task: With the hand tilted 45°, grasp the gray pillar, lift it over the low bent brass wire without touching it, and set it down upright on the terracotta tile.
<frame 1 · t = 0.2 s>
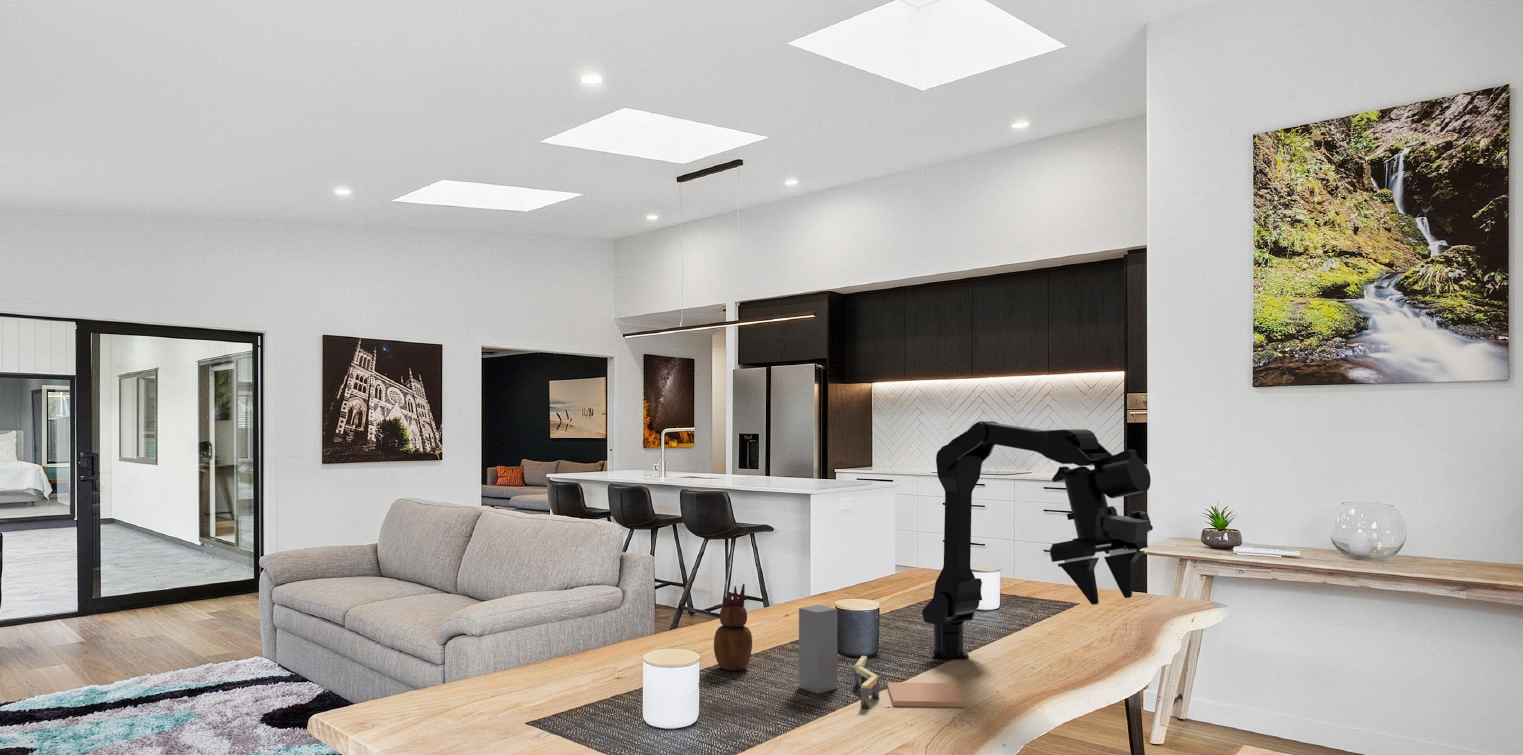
hand: (1112, 601, 143), 15 cm above the table, tool pointing down, fingers open, 9 cm apart
wooden figurine: (733, 669, 160), on the table
gray pillar: (818, 688, 148), on the table
terracotta tile: (925, 696, 143), on the table
bent wire: (864, 691, 146), on the table
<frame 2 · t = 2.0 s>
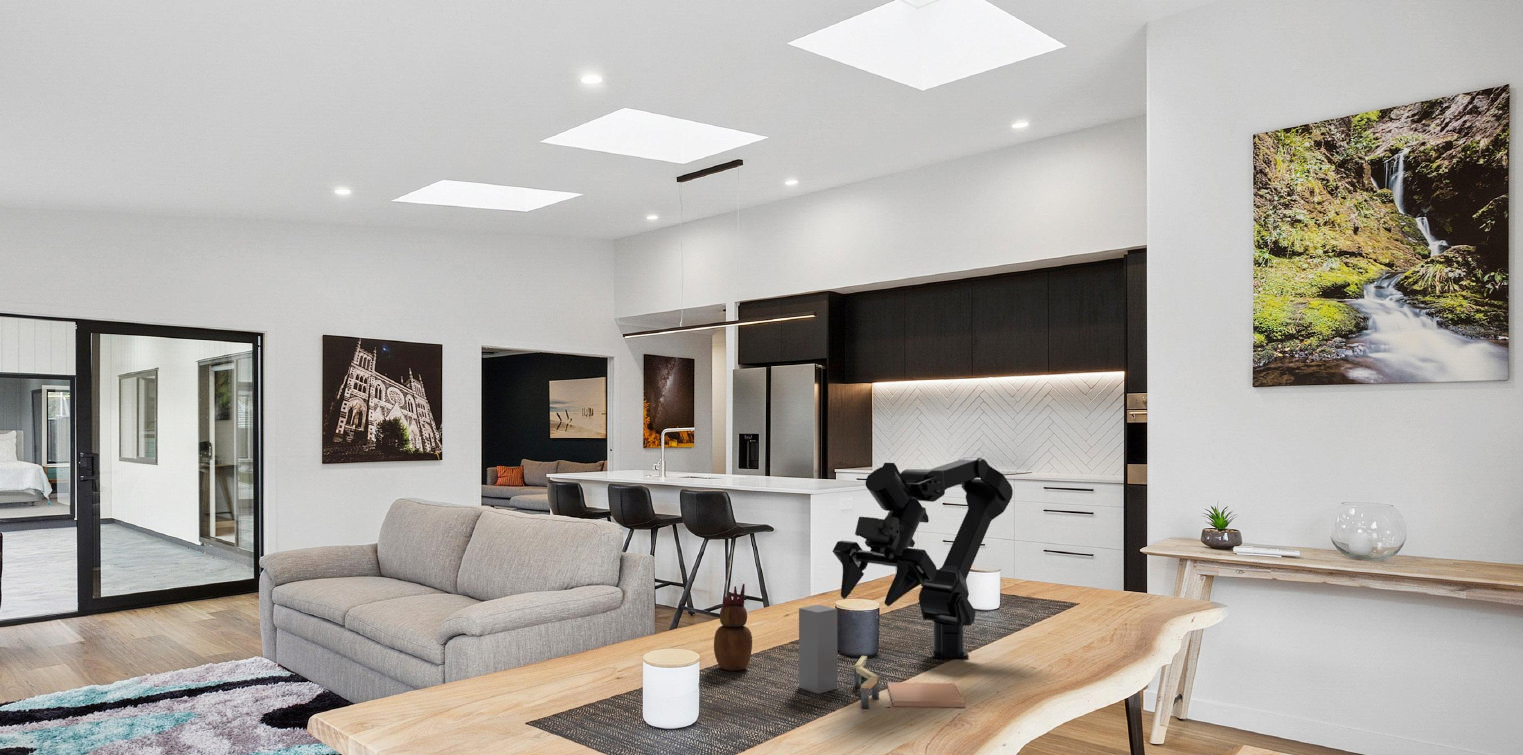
hand: (864, 601, 152), 14 cm above the table, tool tilted 40°, fingers open, 9 cm apart
nothing on the table moved.
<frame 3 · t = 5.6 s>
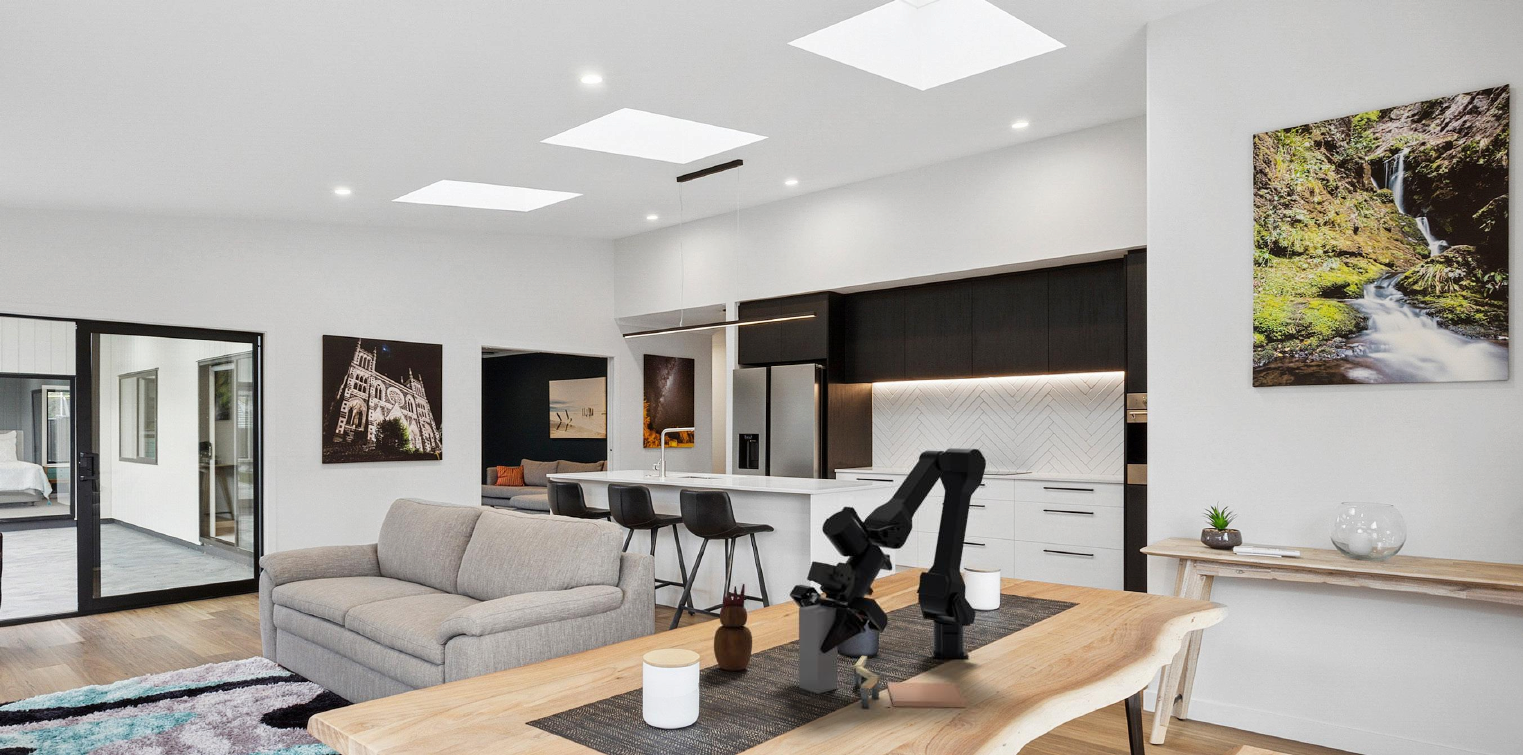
hand: (812, 648, 148), 7 cm above the table, tool tilted 45°, fingers closed on gray pillar, 4 cm apart
gray pillar: (818, 688, 148), on the table, touching gripper
everything else where it was.
when the fingers open (9 cm above the table, at t = 12.2 s): gray pillar drops 1 cm, resting on terracotta tile.
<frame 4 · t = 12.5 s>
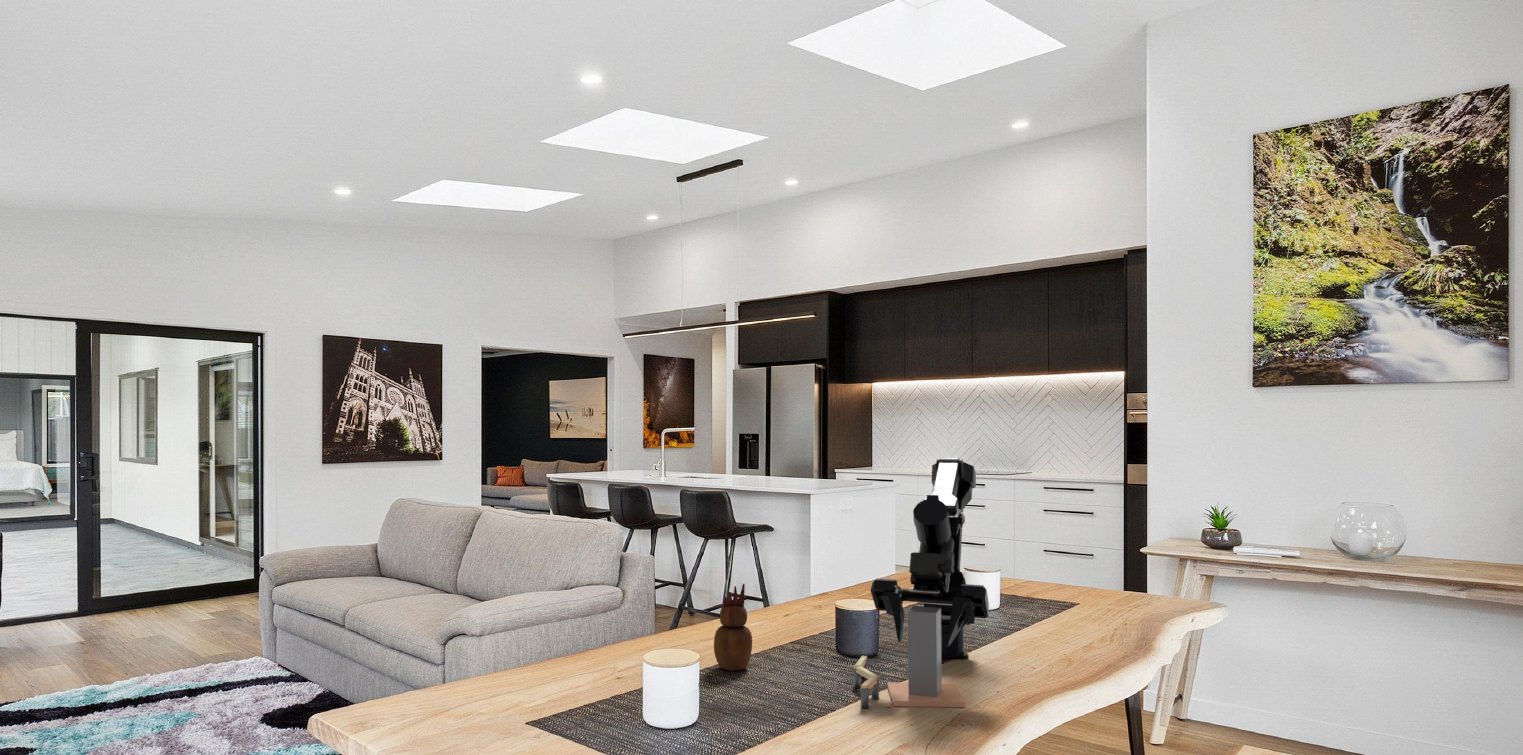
hand: (923, 642, 143), 9 cm above the table, tool tilted 45°, fingers open, 7 cm apart
gray pillar: (925, 691, 143), point 1 cm above the table, touching terracotta tile
everything else where it was.
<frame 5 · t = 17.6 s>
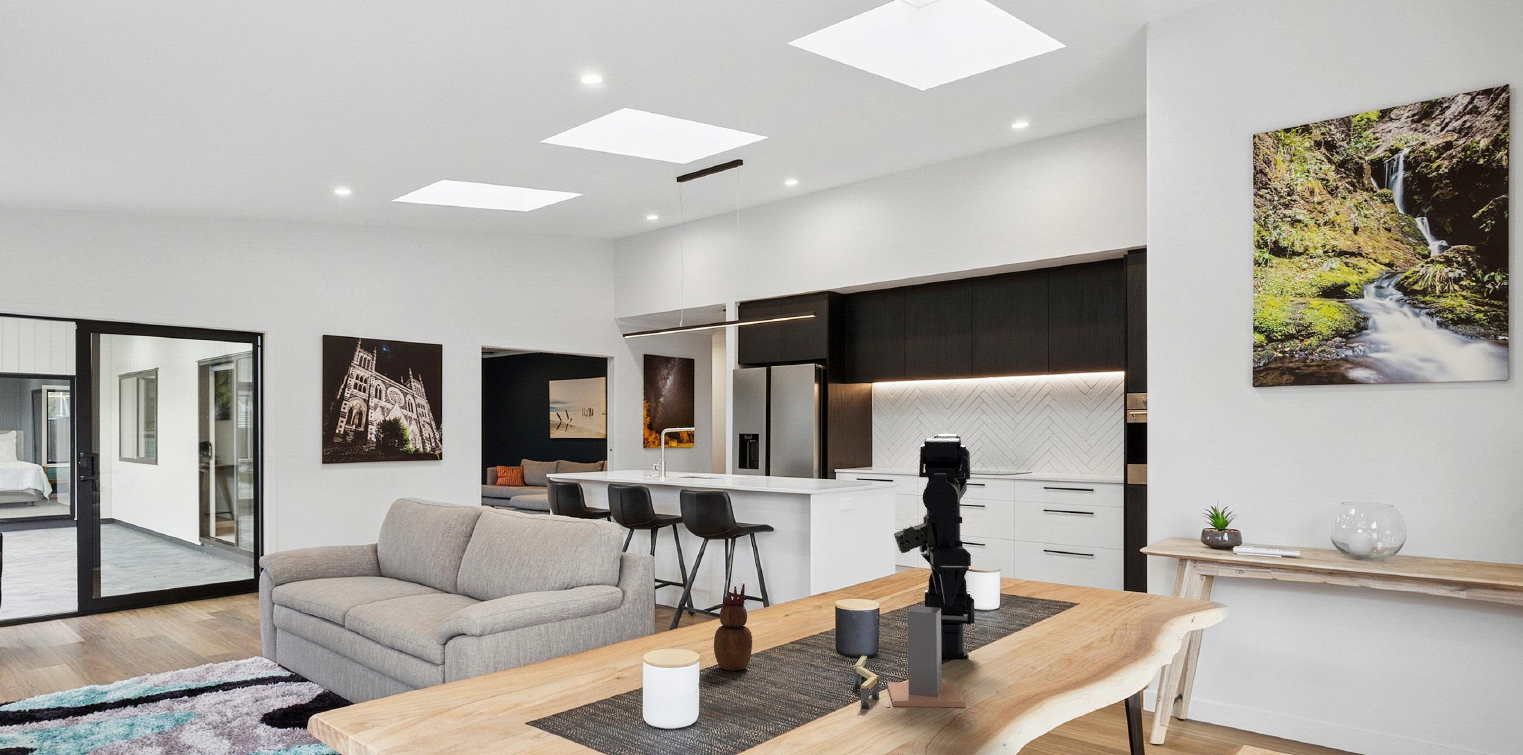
hand: (944, 600, 156), 13 cm above the table, tool pointing down, fingers open, 9 cm apart
nothing on the table moved.
at the end: gray pillar inside the target area (0.0 cm from its centre), point 0.8 cm above the table; gray pillar tilted 0°; gray pillar touching terracotta tile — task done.
